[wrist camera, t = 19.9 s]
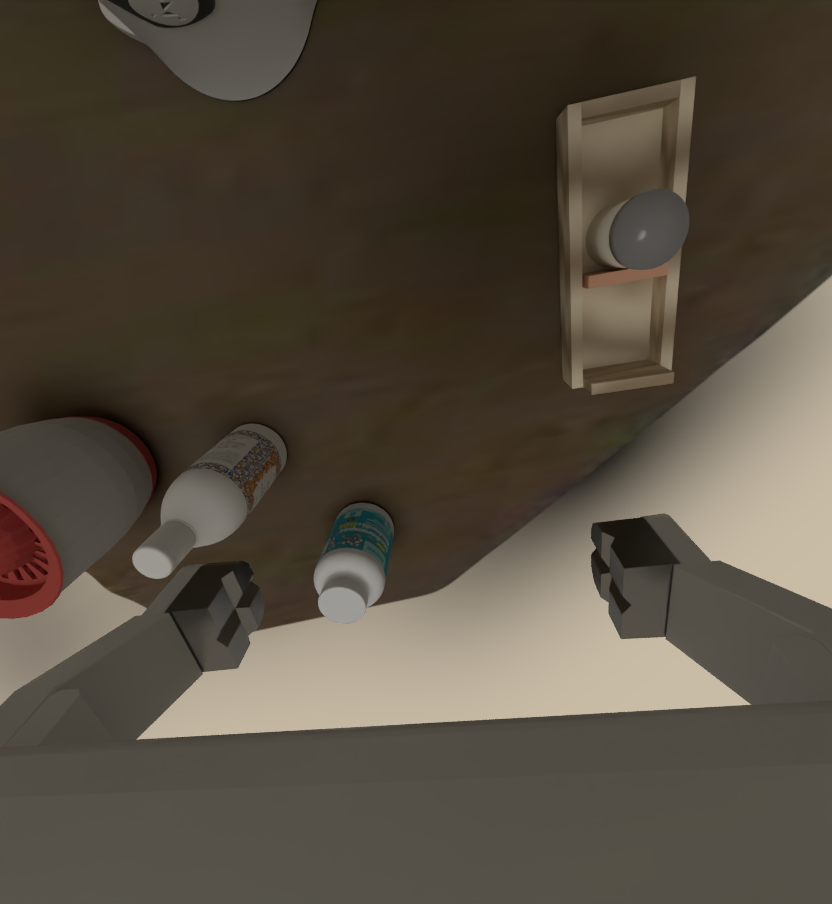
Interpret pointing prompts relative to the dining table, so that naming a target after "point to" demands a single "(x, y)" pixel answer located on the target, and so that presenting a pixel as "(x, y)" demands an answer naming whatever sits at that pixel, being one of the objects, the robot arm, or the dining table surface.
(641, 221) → the cream jar
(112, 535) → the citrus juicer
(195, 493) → the bath foam
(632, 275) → the block
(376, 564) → the pill bottle
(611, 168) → the wooden tray
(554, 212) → the dining table surface
